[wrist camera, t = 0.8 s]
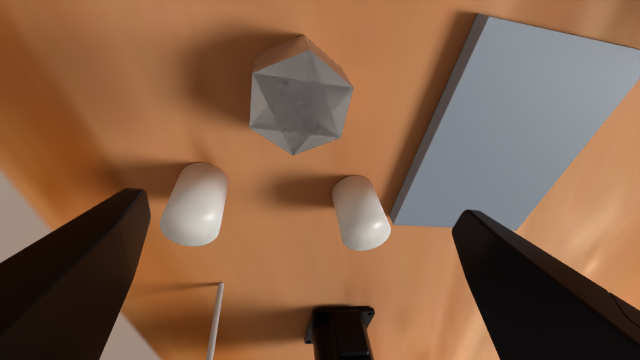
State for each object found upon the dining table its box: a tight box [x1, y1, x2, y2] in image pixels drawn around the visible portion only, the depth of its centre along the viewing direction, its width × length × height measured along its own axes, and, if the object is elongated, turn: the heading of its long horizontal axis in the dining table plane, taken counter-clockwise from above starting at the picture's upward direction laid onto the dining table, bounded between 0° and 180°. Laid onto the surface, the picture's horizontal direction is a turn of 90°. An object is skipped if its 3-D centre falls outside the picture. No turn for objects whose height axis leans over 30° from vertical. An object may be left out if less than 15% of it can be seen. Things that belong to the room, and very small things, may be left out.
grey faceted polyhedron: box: [249, 35, 353, 155], centre depth 15 cm, size 5×4×3 cm
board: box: [389, 13, 640, 230], centre depth 20 cm, size 14×11×1 cm
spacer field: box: [160, 163, 391, 251], centre depth 15 cm, size 17×13×4 cm
